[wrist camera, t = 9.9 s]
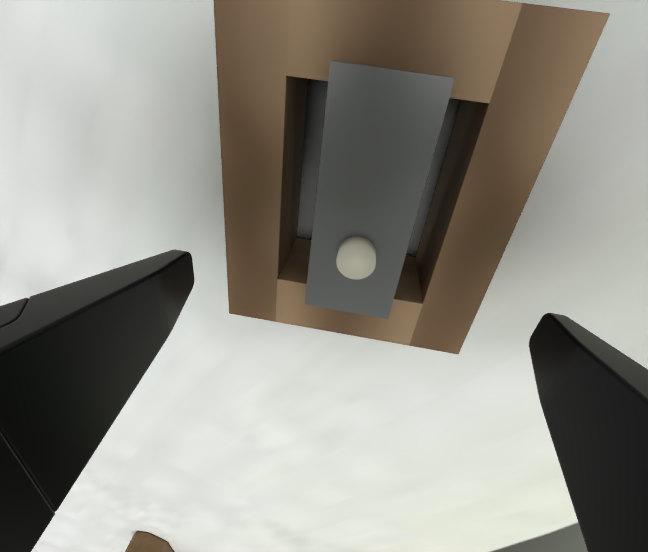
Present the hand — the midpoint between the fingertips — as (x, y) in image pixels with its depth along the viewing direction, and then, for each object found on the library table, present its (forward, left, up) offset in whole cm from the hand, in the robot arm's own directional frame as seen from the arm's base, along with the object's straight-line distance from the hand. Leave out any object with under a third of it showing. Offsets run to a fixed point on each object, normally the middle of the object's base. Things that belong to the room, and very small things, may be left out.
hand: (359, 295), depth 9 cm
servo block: (0, 0, -11) cm, 11 cm away
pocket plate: (0, 0, -11) cm, 11 cm away
